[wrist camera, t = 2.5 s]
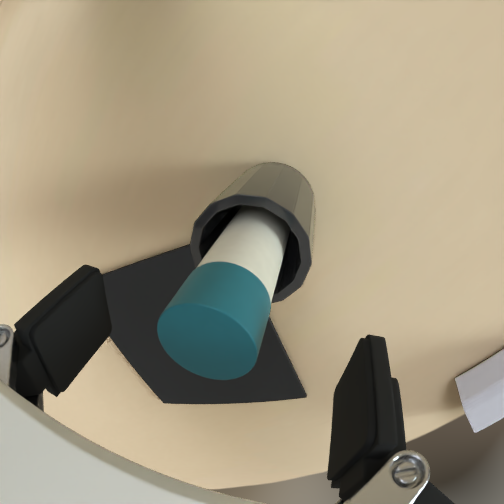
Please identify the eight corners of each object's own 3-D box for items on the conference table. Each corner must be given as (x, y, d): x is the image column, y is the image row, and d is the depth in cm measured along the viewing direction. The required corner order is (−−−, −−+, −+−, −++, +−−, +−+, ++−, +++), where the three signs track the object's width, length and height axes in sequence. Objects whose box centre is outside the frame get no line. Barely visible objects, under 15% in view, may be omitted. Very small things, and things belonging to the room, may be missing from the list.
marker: (241, 190, 21) (138, 312, 9) (286, 175, 20) (228, 293, 8) (259, 232, 22) (188, 382, 10) (303, 219, 21) (273, 376, 9)
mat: (77, 283, 30) (75, 285, 30) (229, 230, 23) (228, 232, 23) (164, 401, 37) (163, 403, 37) (306, 394, 30) (306, 397, 30)
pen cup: (220, 179, 21) (170, 219, 14) (298, 150, 19) (285, 176, 12) (251, 248, 23) (220, 314, 16) (326, 227, 21) (327, 290, 14)
